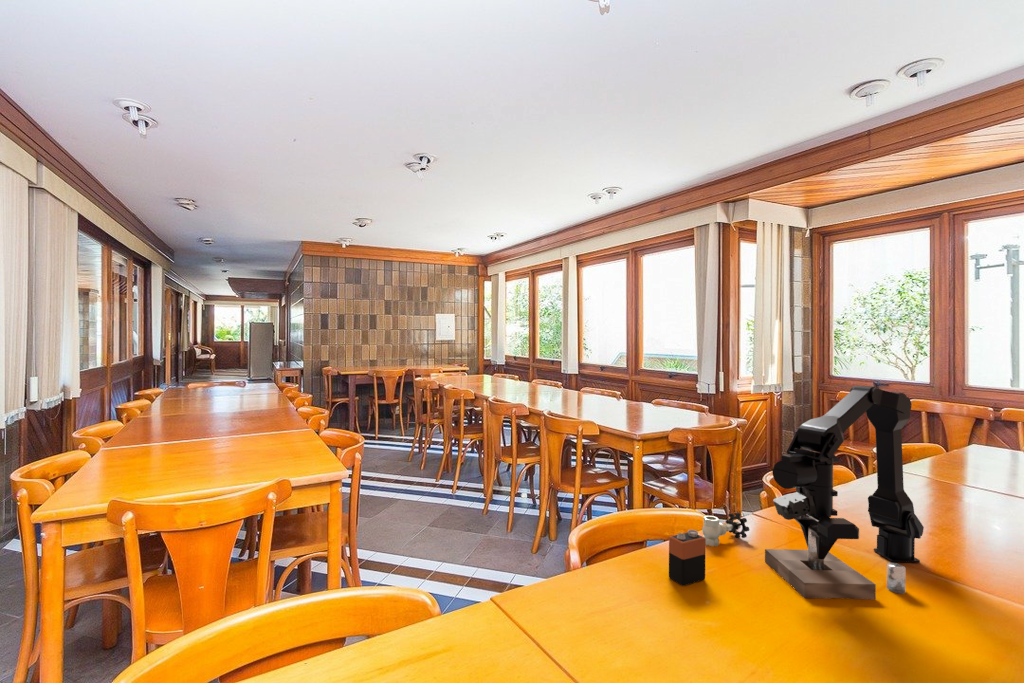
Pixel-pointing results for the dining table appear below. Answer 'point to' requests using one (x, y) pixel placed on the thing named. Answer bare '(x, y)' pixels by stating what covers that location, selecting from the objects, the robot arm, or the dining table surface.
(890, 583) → the short pin
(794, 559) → the hole plate
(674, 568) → the battery
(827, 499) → the robot arm
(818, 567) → the long pin
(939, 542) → the dining table surface
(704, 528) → the valve
